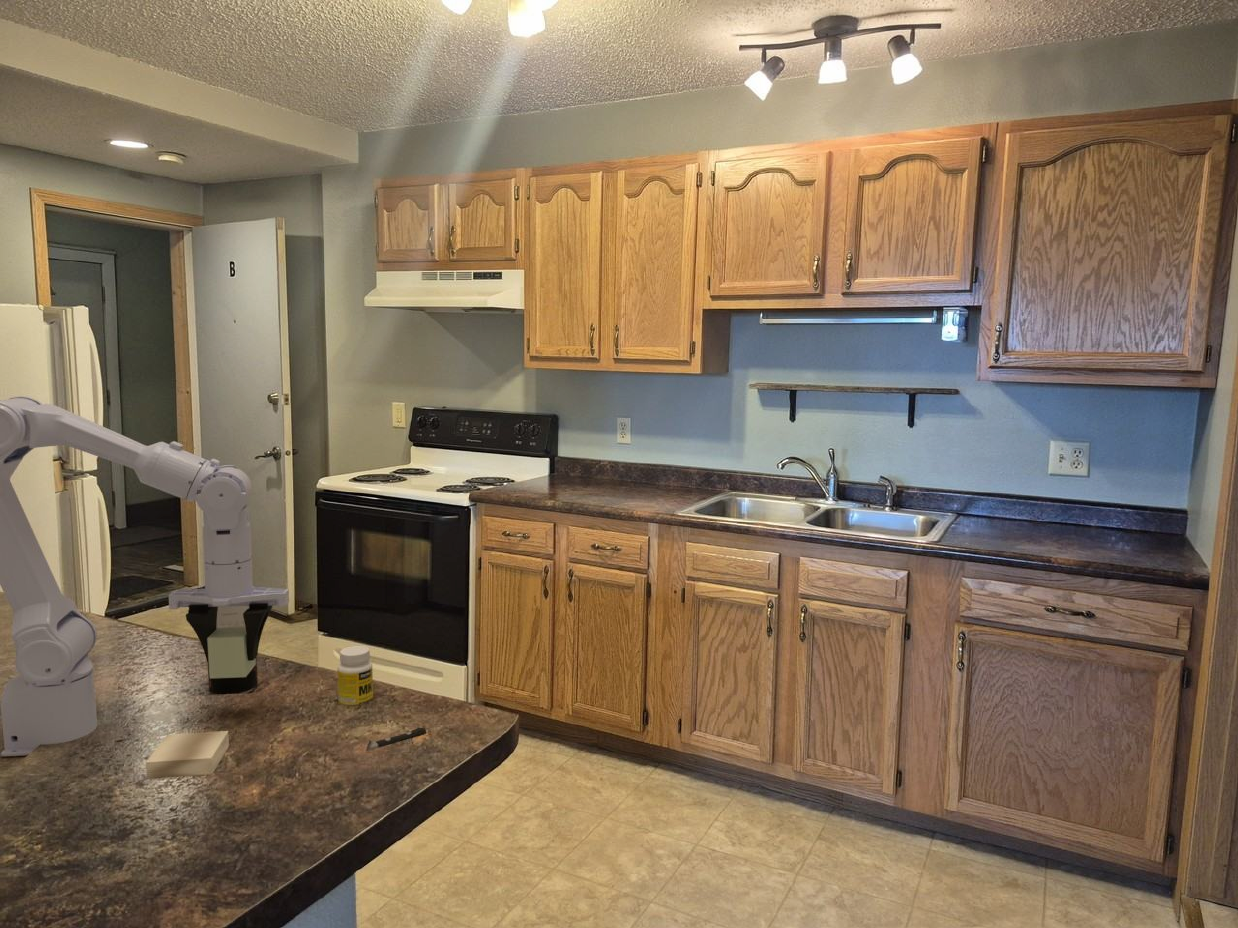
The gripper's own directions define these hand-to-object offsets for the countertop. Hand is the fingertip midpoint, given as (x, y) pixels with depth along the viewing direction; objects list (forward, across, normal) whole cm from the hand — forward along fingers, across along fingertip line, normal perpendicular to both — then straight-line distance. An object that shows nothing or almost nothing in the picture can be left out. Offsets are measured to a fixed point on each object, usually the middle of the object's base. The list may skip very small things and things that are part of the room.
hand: (232, 658), depth 111 cm
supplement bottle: (+9, +15, +4) cm, 18 cm away
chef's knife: (+10, +17, -9) cm, 21 cm away
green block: (+2, 0, 0) cm, 2 cm away
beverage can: (+10, -4, +12) cm, 16 cm away
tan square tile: (+8, -1, -13) cm, 15 cm away
